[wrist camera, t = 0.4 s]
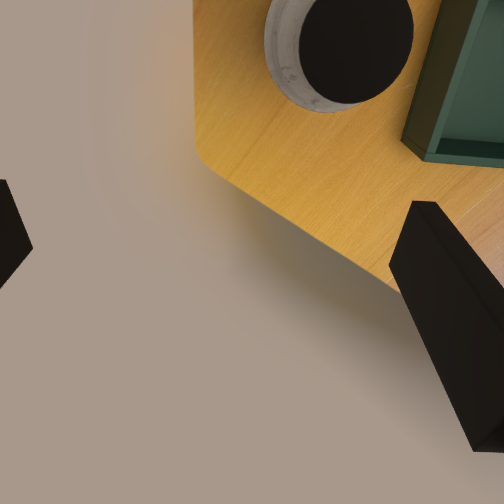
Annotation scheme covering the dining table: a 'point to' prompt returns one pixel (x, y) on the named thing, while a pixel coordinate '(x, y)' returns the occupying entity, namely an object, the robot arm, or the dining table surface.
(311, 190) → the dining table surface
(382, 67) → the thermos bottle
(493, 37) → the box
